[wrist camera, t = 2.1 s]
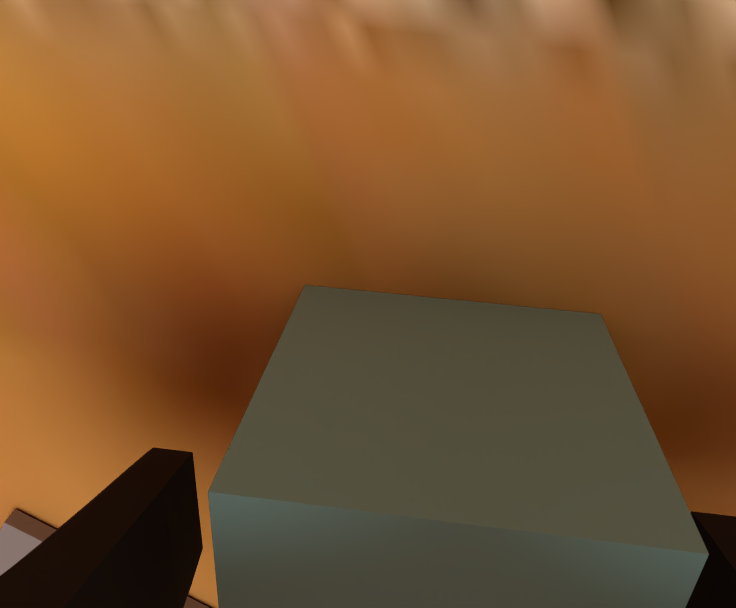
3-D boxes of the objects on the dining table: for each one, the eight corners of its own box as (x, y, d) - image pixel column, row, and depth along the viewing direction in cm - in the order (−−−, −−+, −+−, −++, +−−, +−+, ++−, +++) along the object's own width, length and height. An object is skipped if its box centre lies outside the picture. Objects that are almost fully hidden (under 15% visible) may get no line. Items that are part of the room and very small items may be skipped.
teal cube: (599, 311, 10) (708, 554, 6) (544, 525, 13) (594, 812, 8) (305, 283, 11) (208, 492, 6) (304, 495, 13) (232, 754, 9)
